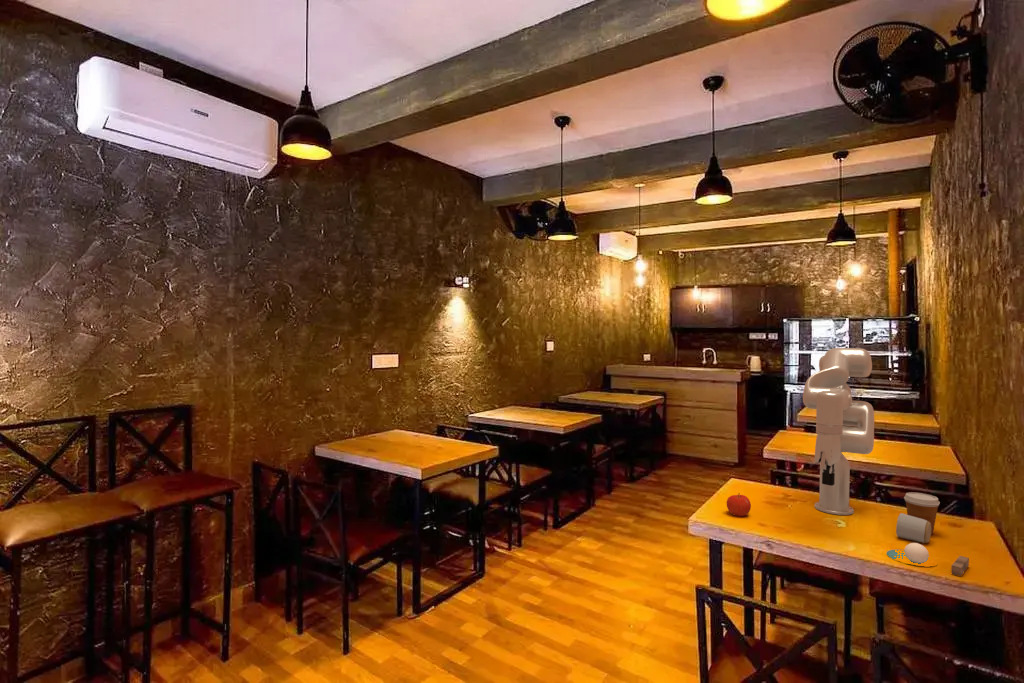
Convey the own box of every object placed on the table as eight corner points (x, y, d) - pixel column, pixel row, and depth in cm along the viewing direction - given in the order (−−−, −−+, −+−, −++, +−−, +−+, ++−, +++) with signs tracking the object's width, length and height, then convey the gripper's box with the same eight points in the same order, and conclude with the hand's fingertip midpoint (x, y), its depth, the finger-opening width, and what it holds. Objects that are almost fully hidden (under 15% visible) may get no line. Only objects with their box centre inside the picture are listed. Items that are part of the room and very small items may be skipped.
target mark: (893, 546, 167) (893, 546, 167) (942, 559, 158) (942, 559, 158) (881, 557, 160) (881, 556, 160) (931, 571, 151) (931, 570, 151)
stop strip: (959, 564, 155) (959, 555, 155) (968, 566, 154) (968, 558, 154) (951, 574, 149) (951, 565, 149) (960, 576, 147) (960, 567, 147)
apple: (755, 516, 194) (756, 494, 194) (739, 519, 191) (739, 497, 190) (737, 509, 201) (738, 488, 201) (721, 512, 198) (722, 491, 198)
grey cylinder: (927, 546, 168) (927, 522, 168) (895, 539, 174) (896, 515, 174) (933, 538, 175) (934, 515, 175) (902, 531, 181) (903, 508, 181)
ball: (931, 543, 155) (933, 563, 155) (909, 539, 160) (911, 558, 160) (921, 547, 152) (923, 568, 152) (899, 542, 157) (901, 562, 157)
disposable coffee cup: (896, 528, 183) (897, 493, 183) (915, 525, 186) (916, 490, 186) (926, 539, 174) (927, 502, 174) (946, 535, 177) (947, 499, 177)
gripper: (825, 424, 185) (824, 477, 186) (807, 430, 175) (806, 486, 176) (850, 427, 179) (848, 482, 180) (833, 434, 169) (832, 492, 170)
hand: (828, 484), depth 178 cm, fingers closed
